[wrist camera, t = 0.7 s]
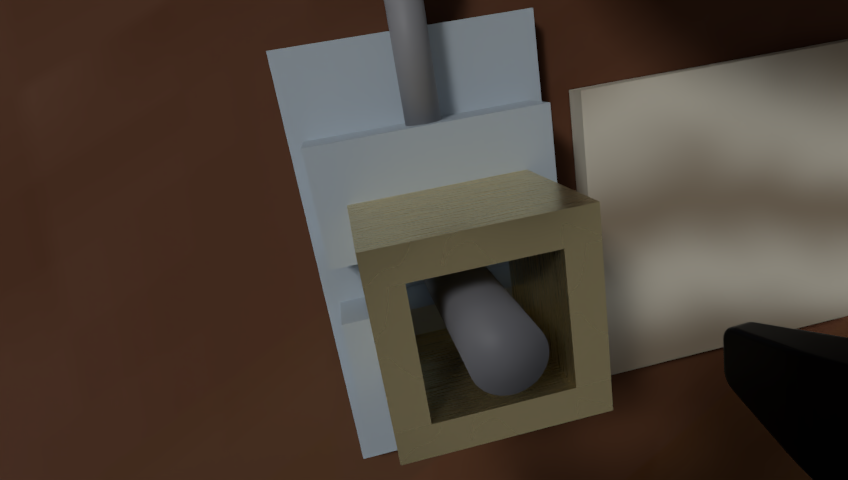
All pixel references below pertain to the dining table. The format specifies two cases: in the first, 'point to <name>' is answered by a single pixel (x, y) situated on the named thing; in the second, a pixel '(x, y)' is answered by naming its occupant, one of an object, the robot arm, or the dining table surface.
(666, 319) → the birch pad
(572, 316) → the brass sleeve
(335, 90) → the vise
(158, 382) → the dining table surface
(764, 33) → the dining table surface
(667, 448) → the dining table surface
